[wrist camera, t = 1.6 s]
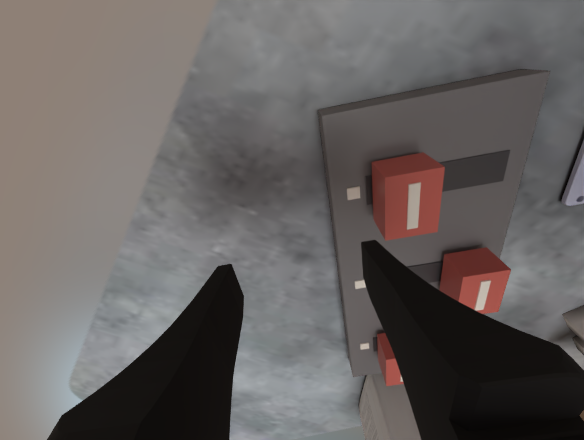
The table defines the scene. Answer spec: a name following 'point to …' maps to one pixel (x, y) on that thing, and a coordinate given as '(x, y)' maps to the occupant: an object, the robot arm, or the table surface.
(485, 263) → the switch
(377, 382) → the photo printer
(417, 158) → the switch
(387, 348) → the switch
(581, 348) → the toy llama
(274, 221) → the table surface
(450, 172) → the slider switch panel
